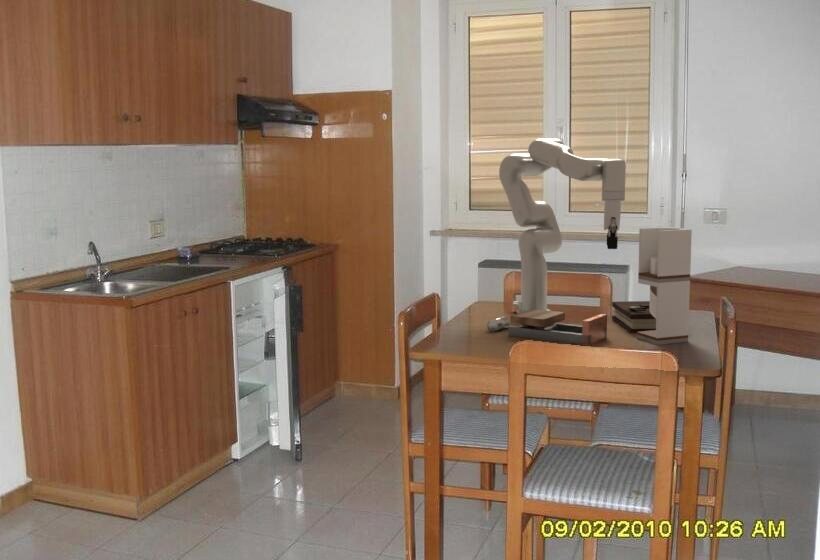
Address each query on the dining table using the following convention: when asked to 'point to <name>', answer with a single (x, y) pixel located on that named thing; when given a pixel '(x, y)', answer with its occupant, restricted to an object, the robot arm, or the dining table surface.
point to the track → (566, 331)
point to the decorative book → (634, 316)
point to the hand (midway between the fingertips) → (611, 247)
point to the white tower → (666, 281)
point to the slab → (537, 317)
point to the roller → (498, 324)
